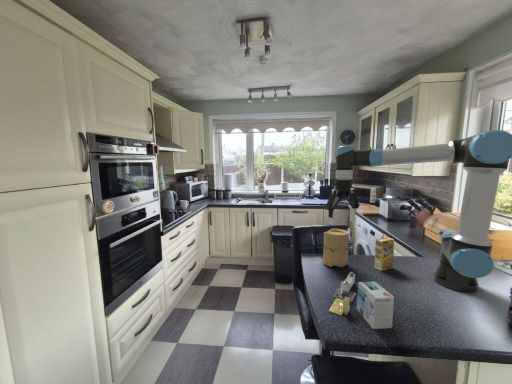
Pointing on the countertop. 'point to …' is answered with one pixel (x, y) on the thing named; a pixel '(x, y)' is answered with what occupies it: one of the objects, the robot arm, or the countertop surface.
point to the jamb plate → (340, 296)
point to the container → (336, 247)
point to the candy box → (384, 253)
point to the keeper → (340, 306)
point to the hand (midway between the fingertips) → (342, 222)
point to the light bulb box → (375, 305)
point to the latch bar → (347, 284)
